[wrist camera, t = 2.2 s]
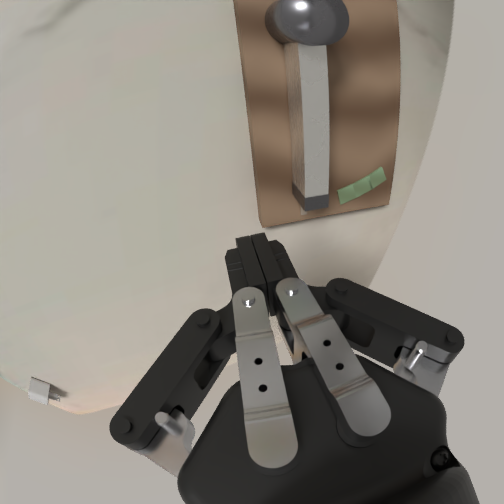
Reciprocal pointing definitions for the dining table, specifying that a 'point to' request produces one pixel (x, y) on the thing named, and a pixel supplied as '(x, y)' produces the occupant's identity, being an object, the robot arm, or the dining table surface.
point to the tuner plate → (340, 110)
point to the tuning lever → (308, 87)
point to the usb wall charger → (41, 391)
